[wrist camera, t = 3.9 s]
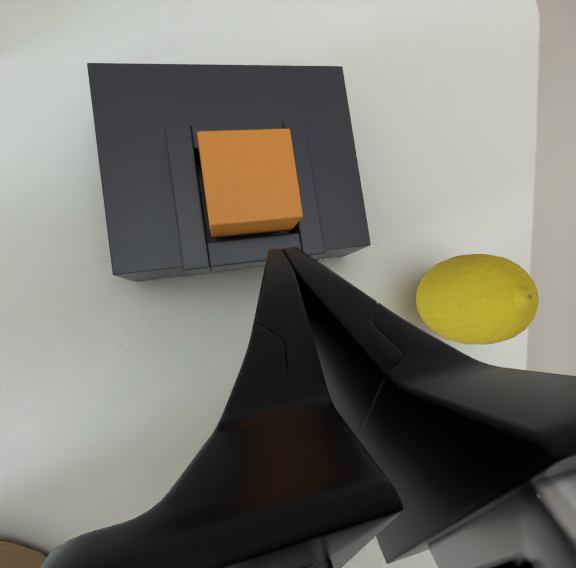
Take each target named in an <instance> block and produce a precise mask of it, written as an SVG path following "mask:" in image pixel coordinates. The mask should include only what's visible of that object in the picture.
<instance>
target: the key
mask: <svg viewBox="0 0 576 568" xmlns="http://www.w3.org/2000/svg"><path fill="white" fill-rule="evenodd" d="M197 138H198V146H199V153H200V160H201V168H202V175H203V182H204V189H205V197H206V204H207V211H208V219H209V226H210V231H211V236H212V237H213V238H215V237H224V236H234V235H244V234H254V233H264V232H274V231H284V230H292V229H293V228H294V226H295V225H296V224H297V223H298V222H299V221H300V219H301V218H302V217H303V212H302V206H301V199H300V192H299V186H298V179H297V172H296V166H295V159H294V153H293V146H292V139H291V133H290V129H260V130H227V131H198V132H197Z"/></svg>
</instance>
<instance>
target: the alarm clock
mask: <svg viewBox="0 0 576 568" xmlns="http://www.w3.org/2000/svg"><path fill="white" fill-rule="evenodd" d="M46 558H47V557H46V556H44V555H43V554H42V553H41V552H38V551H35V550H32V549H29V548H26V547H23V546H20V545H17V544H13V543H10V542H0V568H40V567H41V565H42V564H43V562H44V561H45V559H46Z"/></svg>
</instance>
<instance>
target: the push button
mask: <svg viewBox="0 0 576 568" xmlns="http://www.w3.org/2000/svg"><path fill="white" fill-rule="evenodd" d="M87 66H88V75H89V83H90V91H91V99H92V107H93V116H94V124H95V132H96V140H97V148H98V157H99V165H100V173H101V181H102V189H103V198H104V206H105V214H106V222H107V230H108V239H109V247H110V255H111V263H112V271H113V275H115V276H119V277H122V278H125V279H129V280H132V281H145V280H153V279H161V278H169V277H177V276H185V275H193V274H202V273H210V272H218V271H226V270H234V269H242V268H250V267H259V266H265V264H266V259H267V255H268V251H269V250H270V249H277V248H281V249H283V248H286V247H297V248H299V249H300V250H302V251H303V252H305V253H306V254H308V255H309V256H311V257H312V258H314V259H315V260H316V259H324V258H332V257H340V256H346V255H348V254H350V253H353V252H355V251H357V250H360V249H362V248H364V247H367V246H369V245H370V238H369V232H368V226H367V219H366V213H365V207H364V201H363V194H362V188H361V182H360V176H359V169H358V163H357V157H356V151H355V144H354V138H353V132H352V125H351V119H350V113H349V107H348V100H347V94H346V88H345V82H344V75H343V69H342V67H341V66H265V65H189V64H113V63H88V64H87ZM260 129H290V133H291V139H292V146H293V153H294V159H295V166H296V172H297V179H298V186H299V192H300V199H301V206H302V212H303V217H302V218H301V219H300V221H299V222H298V223H297V224H296V225H295V226H294V228H293V229H292V230H284V231H274V232H264V233H254V234H244V235H234V236H224V237H215V238H213V237H212V236H211V231H210V226H209V219H208V211H207V204H206V197H205V189H204V182H203V175H202V168H201V160H200V153H199V146H198V138H197V132H198V131H227V130H260Z"/></svg>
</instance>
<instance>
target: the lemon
mask: <svg viewBox="0 0 576 568" xmlns="http://www.w3.org/2000/svg"><path fill="white" fill-rule="evenodd" d="M416 306H417V309H418V312H419V315H420V316H421V318H422V320H423V321H424V323H425V324H426V325H427V326H428V327H429V328H430V329H431V330H432V331H433V332H435V333H437V334H438V335H440V336H442V337H443V338H446V339H448V340H452V341H455V342H459V343H463V344H492V343H497V342H501V341H504V340H508V339H510V338H513V337H515V336H516V335H518V334H519V333H521V332H522V331H524V330H525V329H526V328H527V326H528V325H529V324H530V323H531V322H532V320H533V318H534V316H535V314H536V311H537V307H538V293H537V289H536V286H535V284H534V282H533V280H532V279H531V277H530V276H529V274H528V273H527V272H526V271H525V270H524V269H522V268H521V267H520V266H519V265H517V264H516V263H514V262H512V261H510V260H508V259H505V258H502V257H497V256H492V255H485V254H472V255H461V256H456V257H453V258H450V259H447V260H445V261H442V262H440V263H438V264H437V265H435V266H434V267H433V268H431V269H430V270H429V271H428V272H427V273H426V274H425V275H424V277H423V278H422V279H421V281H420V283H419V286H418V288H417V293H416Z"/></svg>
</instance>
